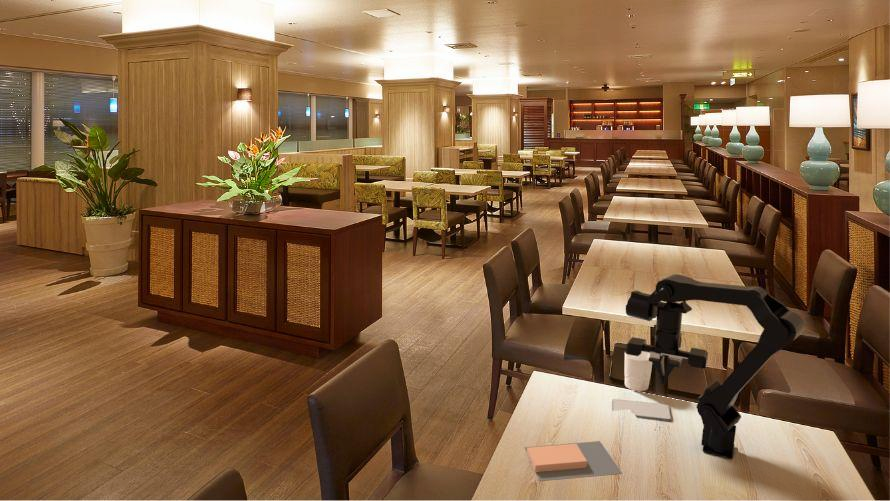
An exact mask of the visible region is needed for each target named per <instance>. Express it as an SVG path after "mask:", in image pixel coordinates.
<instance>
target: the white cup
mask: <svg viewBox="0 0 890 501" xmlns="http://www.w3.org/2000/svg"><path fill="white" fill-rule="evenodd" d="M649 357H650V353H649V352H644V351H642V352H641V354H640V355H639V356H634V355H629V354H626V353H625V352H624V369H623V370H624V373H623V374H624V386H625V388H628V389H629V390H631V391H635V392H644V391H646V390H648V389H649V385H650V380H651V374H652V368H653V362H650V361H649Z"/></svg>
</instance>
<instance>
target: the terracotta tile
mask: <svg viewBox="0 0 890 501" xmlns="http://www.w3.org/2000/svg"><path fill="white" fill-rule="evenodd" d="M566 444H567V445H558V444H554V445H555V446H546V445H541V446H542V447H534V446H529V447H530V448H527V452H526V455H527V457H528V459H529V461H530V463H531V465H533V466H532V467H533V470H534V472H535V471H536V472H541V471H553V470H564V469H576V468H586V467H587V460H586V459H585V457H584V455H583V454H582V452H581V450H580V449H579V447H578V446H577V444H570V443H566ZM536 472H535V473H536Z"/></svg>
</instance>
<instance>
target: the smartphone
mask: <svg viewBox="0 0 890 501" xmlns="http://www.w3.org/2000/svg"><path fill="white" fill-rule="evenodd" d="M628 410H629V411H631V412H632V414H634V416H635V417H636V418H640V419H647V420H654V421H655V420H656V421H664V422H671V421H672V415H671V409H670V405H669V404H664V403H655V402H648V401H647V402H645V401H636V400H635V401H634V400H625V399H619V398H618V399H617V398H615V399H612V401H611V411H612V412H613V411H615V412H616V411H628Z"/></svg>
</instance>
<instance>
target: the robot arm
mask: <svg viewBox="0 0 890 501" xmlns="http://www.w3.org/2000/svg"><path fill="white" fill-rule="evenodd" d="M689 301H701V302H702V301H703V302H710V303H711V302H713V303H719V304H729V305H737V306H744V307H747V308H748V310H750V312H751V314H752V315H753V317H754V319H755V320H756V322H757V324H758V325H760V326H761V328H762V332H761V334H760V335H759V339H758V341H757V343H756V345H755V346H754V347H753V348H752V349H751V351H750V352H749V353H748V354H747V355H746V356H745V358H743V360H742V361H741V362H740V363H739V364H738V365H737V367H735V369H734V370H733V371H732V372H731V373H730V375H728V376H727V378H726V379H725V380H724V381H723V382H722V383H720V382H719V381H718V380H717V379H716V380H715V381H714V382H712V383H711V384H710V385H709V386H707V387H706V389H705V390H704V391H703V393H702V394H701V395H700V396H699V397H698V398H696V401H698V402H697V404H696V410H697V413H698V416H700V418H701V421H702V426H703V428H702V434H701V446H702V452H703V453H707V454H710V455H715V456H719V457H721V458H722V457H723V458H727V459H730V460H731V459H734V453H735V447H736V446H735V439H736V432H737V431H736V430H737V425H736V424H738V423H739V421H740V420H741V418H742V415H741V414H740V412H739V411H738V410H737V408H736V407H735V406H734V404H735V402H736V400H737V399H738V395H739V393H740V392H741V391H742V390H743V389H744V387H745V386H746V385H747V384H748V383H749V382H750V381H751V380H752V379H753V378H754V376H755V375H756V374H758V372H759V371H760V370H761V369H762V368H763V366H765V365H766V363H767V362H768V361H769V360H771V358H772V357H773V356H774V355H775V354H777V353H778V352H780V351H781V350H782V349H784V348H786V347H787V346H788V345H790V344H791V343H793V341H795V340H796V339H797V338H798V337H799V336H800V335H801V334H802V333H803V332H804V331H805V327H806V326H805V322H804V320H803V317H801V316H800V315H799V314H798V313H796V312H794V311H791V309H789V308H788V307H787V306H786V305H785V304H784V303H782V302H781V301H779V300H778V299H777V298H775V297H774V296H772V295H770V293H768V291H767V290H765V289H764V288H763V287H761V286H757V285H756V286H747V285H744V286H743V285H736V284H725V283H717V282H715V283H714V282H702V281H699V280H695V279H694V278H692V277H689V276H685V275H681V274H677V273H675V274H672V275H669V276H666V277H663V278H662V279H660V280H659V281H658V282H657V283H656V285H655V290H654V291H653V292H652V293H651V294H649V293H645V292H641V291H639V290H633V291H631V292H630V297H629V298H628V300H627V303H626V304H625V313H626V316H628V317H632V318H635V319H640V320H642V321H648V322H650V321H652V320H653V319H656V320H655V321H656V323H655V324H654V325H653V328H652V337H654V345H653V344H647V339H646V338H639V337H631V338H630V339H629V340H628V341H627V343H626V345H625V351H624V354H625V353H626V354H629V355H634V356H639V355H640V354H641V352H642V351H644V352H649V353H650V357H649V361H650V362H652V365H653V366H654V368H655V369H656V373H657V375H658V378H659V381H660V383H661V384H662V385H666V383H667V381H668V379H669V377H670V375H671V373H672V371H673V370H674V369H675V367H676V368H679V367H680V366H681V364H682V361H683V360H687V363H688V365H689V366H690V367H692V368H696V369H697V368H698V369H703V370H704V369H706V368H707V364H708V362H709V361H708V360H709V351H708V350H706V349H704V348H703V349H702V348H695V347H690V350H689V351H687V350H686V351H684V350H682V349H680V348H682V347H681V346H682V335H683V333H682V332H681V331H682V321H683V319H682V318H683V315H684V314H687V313H690V312H691V311H693V308H692V307H691V305H689V304H688V303H687V302H689ZM665 356H666V357H668V359H667V362H666V365H665Z"/></svg>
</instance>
